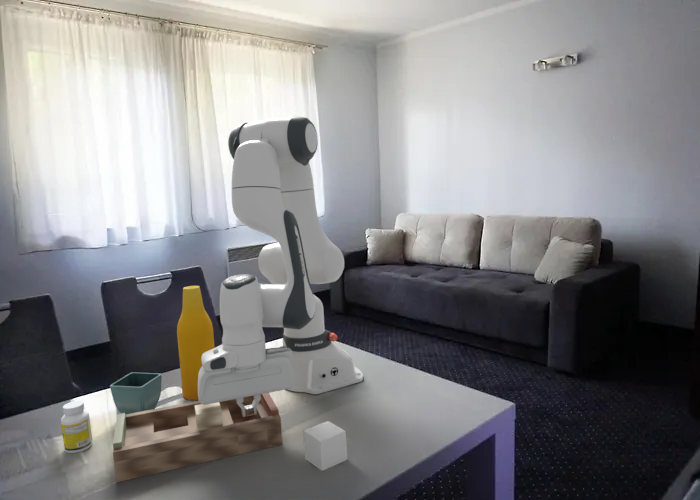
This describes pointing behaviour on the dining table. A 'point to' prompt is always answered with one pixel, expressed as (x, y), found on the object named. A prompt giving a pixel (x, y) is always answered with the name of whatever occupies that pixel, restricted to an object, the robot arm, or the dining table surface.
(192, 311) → the beer bottle
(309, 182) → the robot arm
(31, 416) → the dining table surface
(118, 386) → the flower pot
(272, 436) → the tray
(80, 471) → the dining table surface
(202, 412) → the ash block
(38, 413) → the dining table surface
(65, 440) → the supplement bottle
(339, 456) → the white cube
